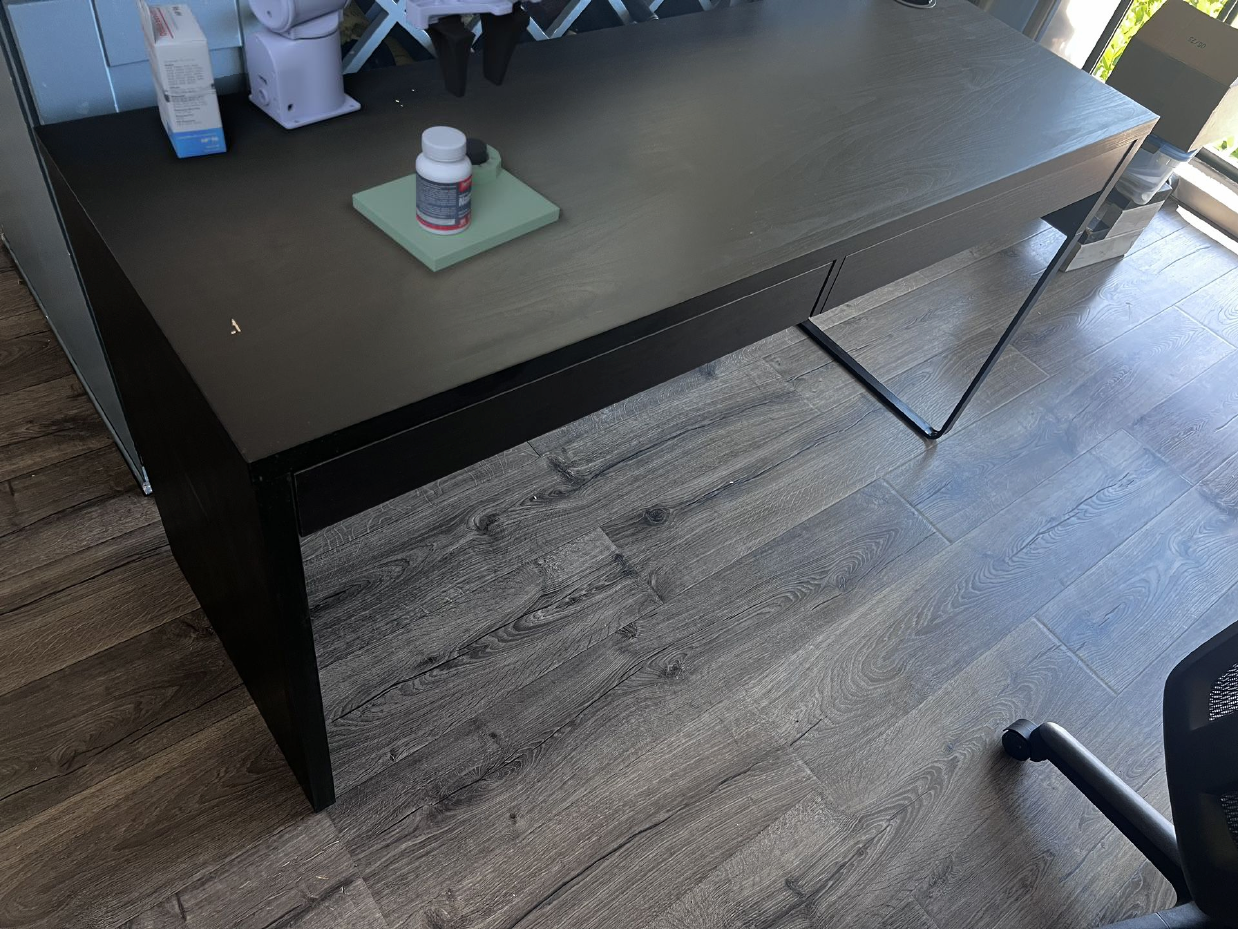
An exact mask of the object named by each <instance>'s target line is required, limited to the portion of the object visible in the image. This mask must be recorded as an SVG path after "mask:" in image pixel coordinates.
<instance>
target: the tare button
mask: <svg viewBox="0 0 1238 929" xmlns="http://www.w3.org/2000/svg"><path fill="white" fill-rule="evenodd" d="M487 145H488V144H487V143H486V142H485V141H483V140H481V139H479V138H475V137H466V154H465V155H466V156H467V157H468V158H469V160H470V161H471V164H472V165H480V164H483V163H485V162H486V158H487Z"/></svg>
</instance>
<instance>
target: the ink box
mask: <svg viewBox="0 0 1238 929" xmlns="http://www.w3.org/2000/svg"><path fill="white" fill-rule="evenodd" d="M135 2H136V7H137V13H138V17H139V22H140V26H141V31H142V36H143V42H144V45H145V50H146V55H147V60H148V62H149V63H148V64H149V69H150V73H151V77H152V81H153V86H154V91H155V96H156V100H157V105H158V111H159V115H160V119H161V122H162V124H163V127H164V129H165V131H166V133H167V135H168V136H167V137H168V138H169V140H170V142H171V145H172V147H173V149H174V151H175V153H176V156H177V157H178V158H179V159H184V158H191V157H197V156H205V155H206V156H207V155H212V154H219V153H226V152H227V145H226V139H225V134H224V128H223V123H222V117H221V116H222V115H221V112H220V106H219V101H218V95H217V90H216V84H215V78H214V73H213V67H212V66H213V65H212V59H211V54H210V47H209V40H208V38H207V36H206V35H205V32H204V31H203V28H202V27H201V25H200V23H199V21H198V19H197V17H196V15H195V14H194V12H193V10H192V9H191V6H189V4H188V3H177V4H175V3H174V4H158V5H148V4H147V2H146V0H135Z"/></svg>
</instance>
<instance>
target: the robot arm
mask: <svg viewBox="0 0 1238 929" xmlns="http://www.w3.org/2000/svg"><path fill="white" fill-rule="evenodd" d="M524 2H530V3H535V4H536V3H540V2H542V0H405V21H406V23H408V24H409V25H411V27H413V28H415V29H417V30H418V31H423V30H425V31H426V34H427V35H428V37H429V39H430V41H431V44H432V46H433V48H434V51H435V53H436V56H437V60H438V63H439V66H440V71H441V75H442V79H443V82H444V87H445V90H446V91H447V92H448V93H449V94H451V95H453V96H455V97H456V98H458V99H460V98H464V97H465V95H466V94H465V93H466V90H467V79H468V77H467V76H468V66H469V65H468V64H469V59H470V55H471V50H472V47H473V44H474V42H475V39H476V36H477V34H476V33H475V32H473V31H472V30H470V29H468V28H467V27H465V21H462V17H465V16H470V15H474V14H479V20H480V26H481V34H482V35H481V36H482V74H483V78H484V79H485V80H486V81H489V82H490V83H491V84H493V85H494V86H496V87H499V86H502V85H503V83H504V80H505V76H506V73H507V70H508V67H509V65H510V62H511V58H512V56H513V54H514V51H515V49H516V47H517V45H518V43H519V41H520V39H521V37H522V36H523V34H524V33H525V32H526V31H527V29H528V28H529V26H530V24H531V13H530V12H529V10H526V9H524V8H522V3H524ZM247 3H248V4H249V7H250V9H251V11H252V13H253V14H254V16H255V17H256V18H257V20H258V21H259V22H260V24H261V25H262V27H261V28H259V29H257V30H255V31H254V32H251V33H249V34H247V36H246V37H245V42H244V46H245V47H244V50H245V51H244V52H245V57H246V58H245V59H246V64H247V73H248V78H249V85H250V86H249V87H250V91H251V92H250V93H251V94H249V95H248V99H249V101H251V103H253V104H254V105H255V106H256V107H257V108H259V109H261V110H262V111H263V112H264V113H266V114H267V115H268V116H269V117H271V118H272V119H273V120H275V121H276V122H277V123H278V124H280V125H281V126H282V127H284V128H285V129H286V130H293V129H297V128H299V127H303V126H307V125H311V124H314V123H317V122H321V121H324V120H328V119H331V118H335V117H339V116H343V115H345V114H350V113H352V112H356V111H360V110H361V109H362V106H361V103H359V102H358V101H356V100H355V99H353V98H352V96H350V95H348V94H347V93H345V89H344V88H345V87H344V74H343V61H342V48H341V46H342V45H341V35H340V34H341V32H340V24H341V23H342V22H344V10H346V9H347V8H348V7H349V6H350V4H351V3H352V0H247Z"/></svg>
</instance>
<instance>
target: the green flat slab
mask: <svg viewBox="0 0 1238 929" xmlns="http://www.w3.org/2000/svg"><path fill="white" fill-rule="evenodd" d="M486 145H487V158H486V162H485V163H483V164H480V165H472V191H471V220H470V224H469V226H468V227H467V228H466V229H465V230H464V231H462V232H460V233H457V234H453V235H439V234H434V233H431V232H428V231H426V230H424V229H423V228H422V227H421V226H420V225H419V224H418V222H417V220H416V172H415V173H411V174H409V175H406V176H403V177H401V178H397V179H395V180H391V181H389V182H386V183H382V184H379V185H377V186H374V187H371V188H368V189H366V190H363V191H359V192H356V193H354V194H352V196H351V197H352V207H353V208H354V209H355V210H357V211H358V212H359V213H360V214H361V215H363V216H364V217H365V218H367V219H368V220H369V221H370V222H371V223H373V224H374V225H375V226H377V227H378V228H379V229H380V230H381V231H382V232H384V233H385V234H386V235H388V236H389V237H390V238H391V239H393V240H394V242H396V243H398V245H400V246H401V247H403V248H404V249H405V250H406V251H408V252H409V253H410V254H411V255H412V256H414V257H415V258H416V259H418V260H419V261H420V262H421V263H423V264H424V265H425V266H426V267H428V268H429V269H430V270H431V271H432V272H434V273H435V272H438V271H440V270H443V269H445V268H448V267H450V266H452V265H454V264H458V263H459V262H462V261H464V260H466V259H468V258H471V257H473V256H476V255H478V254H481V253H483V252H487V250H491V249H492V248H495V247H497V246H501V245H502V244H504V243H507V242H510V241H511V240H514V239H516V238H520V237H521V236H524V235H527V234H528V233H530V232H533V231H536V230H538V229H540V228H543V227H545V226H548V225H550V224H552V223H555V222H556V221H559V218H560V210H561V207H559V206H557V205H556V204H555V203H553V202H551V200H549V199H547V198H546V197H544V196H543V195H542V194H540V193H539V192H537V191H536V190H534V189H533V188H532V187H530V186H528V185H527V184H526V183H525V182H523V181H521V180H520V179H519V178H517V177H516V176H514V175H513V174H511V173H510V172H508V171H507V170H505V169H504V168H503V167H502V157H501V155H500V152H499V151H498V150H497V149H495V148H494V147H492V146H491V145H490V144H486Z"/></svg>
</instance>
